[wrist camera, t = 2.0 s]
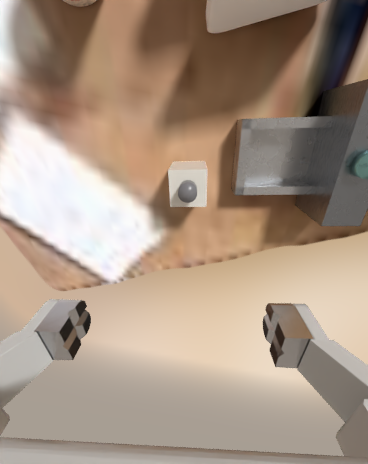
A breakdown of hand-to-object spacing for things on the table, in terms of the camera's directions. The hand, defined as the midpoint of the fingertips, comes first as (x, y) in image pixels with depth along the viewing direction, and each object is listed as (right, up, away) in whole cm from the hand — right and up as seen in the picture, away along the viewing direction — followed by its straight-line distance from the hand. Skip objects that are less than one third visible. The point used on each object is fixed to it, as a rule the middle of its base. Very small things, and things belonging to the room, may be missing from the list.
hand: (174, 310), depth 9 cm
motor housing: (+16, +15, +21) cm, 31 cm away
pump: (+1, +13, +24) cm, 27 cm away
